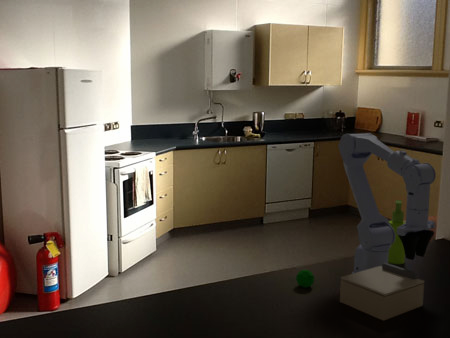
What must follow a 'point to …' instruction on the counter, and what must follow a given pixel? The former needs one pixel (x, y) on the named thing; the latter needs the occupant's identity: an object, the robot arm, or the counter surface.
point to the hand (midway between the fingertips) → (414, 257)
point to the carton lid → (384, 279)
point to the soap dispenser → (397, 248)
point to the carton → (381, 300)
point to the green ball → (305, 278)
